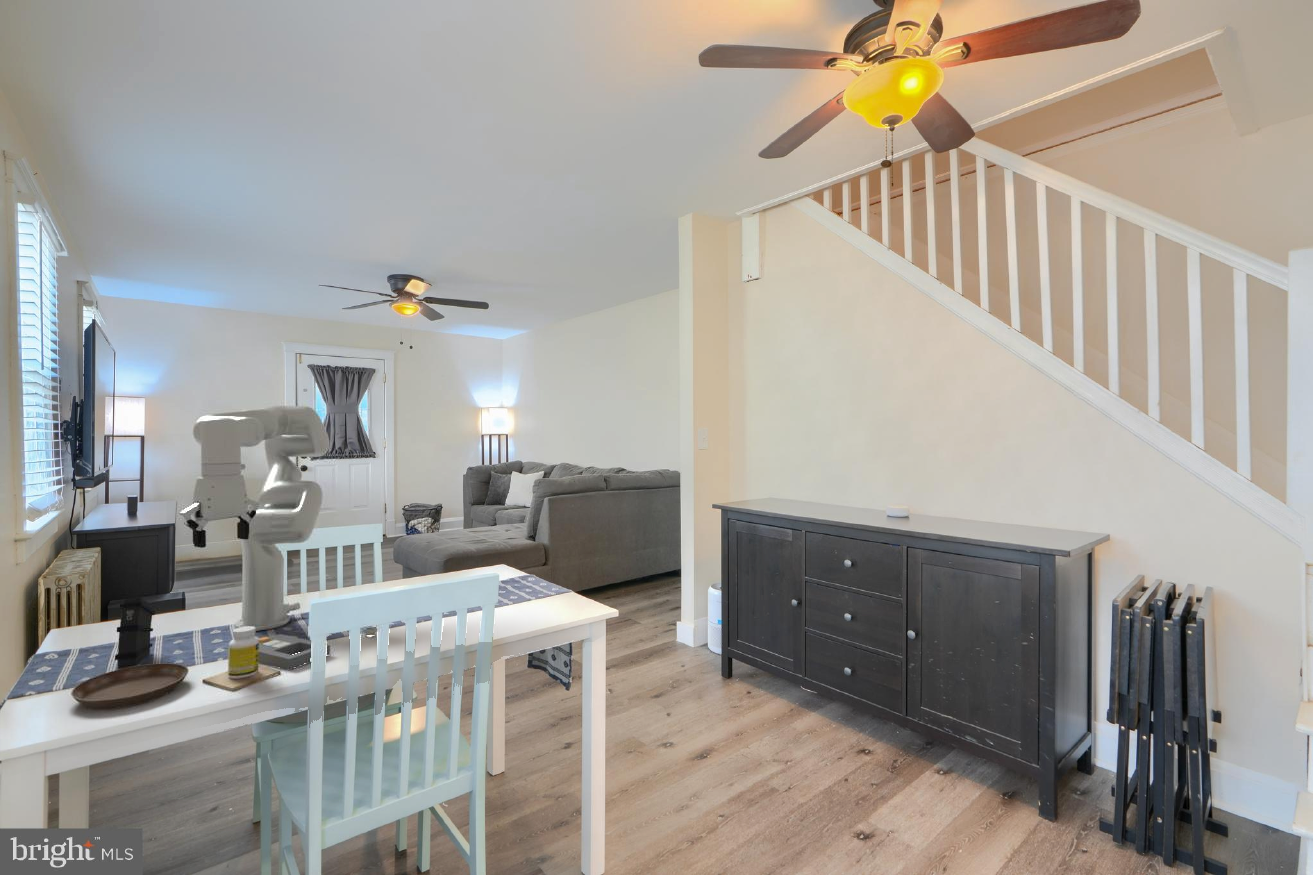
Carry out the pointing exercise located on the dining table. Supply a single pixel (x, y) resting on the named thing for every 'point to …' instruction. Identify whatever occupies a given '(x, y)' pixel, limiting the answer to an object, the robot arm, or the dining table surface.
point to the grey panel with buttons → (285, 651)
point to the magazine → (134, 632)
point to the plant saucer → (129, 685)
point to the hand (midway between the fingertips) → (222, 542)
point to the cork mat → (234, 684)
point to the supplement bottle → (243, 653)
